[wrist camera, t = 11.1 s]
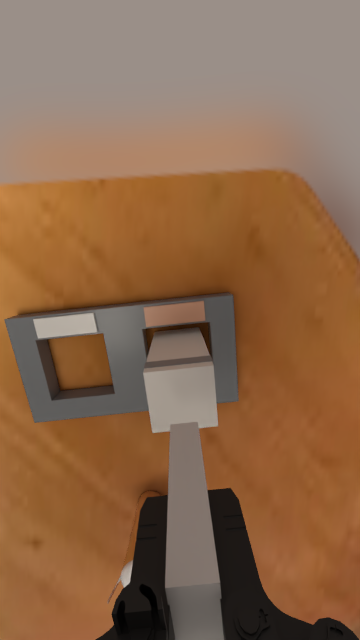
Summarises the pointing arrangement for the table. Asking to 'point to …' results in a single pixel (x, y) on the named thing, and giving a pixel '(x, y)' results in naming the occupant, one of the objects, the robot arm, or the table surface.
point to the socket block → (117, 352)
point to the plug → (180, 380)
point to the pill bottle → (132, 542)
